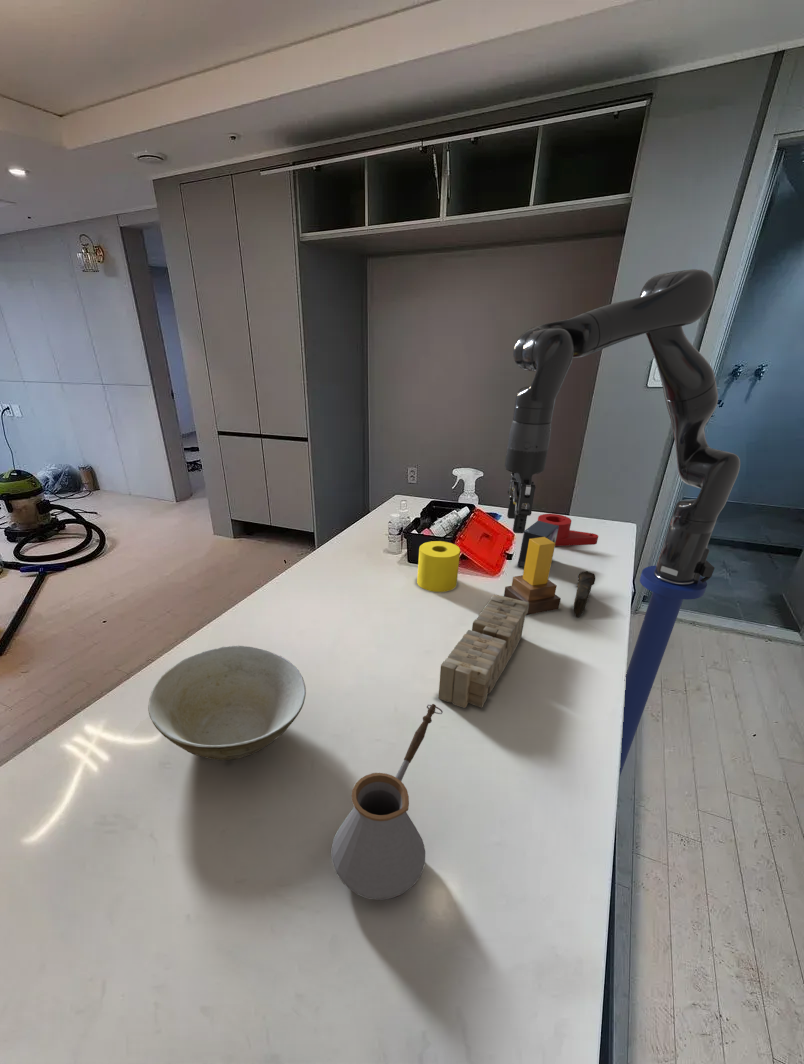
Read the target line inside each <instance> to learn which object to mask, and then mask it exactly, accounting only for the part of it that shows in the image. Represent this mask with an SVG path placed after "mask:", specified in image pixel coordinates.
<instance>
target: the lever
mask: <svg viewBox="0 0 804 1064" xmlns="http://www.w3.org/2000/svg"><path fill="white" fill-rule="evenodd" d="M537 521H542V522H546V523H549V524H554V525H558V526H559V528H558V533H557V538H556V542H555V547H561V546H564V547H565V546H591V545H592V546H593V545H594V546H595V545H597V543H598V540H599V535H598V534H596V533H592V532H586V531H585V532H584V531H578V530H571V526H572V519H571V518H570V517H568V516H566V515H562V514H557V513H543V514H540V515H538V517H537Z"/></svg>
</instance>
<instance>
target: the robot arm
mask: <svg viewBox="0 0 804 1064" xmlns="http://www.w3.org/2000/svg"><path fill="white" fill-rule="evenodd" d="M714 296H715V281H714V278H713V277H712V275H711V274H710V273H709V272H708V271H707V270H703V269H695V268H694V269H693V268H692V269H684V270H677V271H671V272H664V273H660V274H657V275H654V276H652V277H651V278H649V279H648V280H647V281H646V282H645V283H644V285H643V287H642V288H641V291H640V294H639V297H636V298H631V299H626V300H623V301H622V300H621V301H617V302H613V303H610V304H605V305H602V306H599V307H595V308H593V309H591V310H588V311H584V312H582V313H580V314H577V315H575V316H573V317H570V318H567V319H562V320H556V321H552V322H547V323H543V324H540V325H536V326H533V327H530V328H528V329H527V330H526V331H524V332H523V333H521V334H520V336H519V337H518V338H517V340H516V341H515V344H514V345H513V350H512V351H513V352H512V354H513V355H512V357H513V360H514V362H515V364H516V365H517V366H518V367H519V368H520V369H522V370H524V371H527V372H535V374H534V377H533V379H532V382H531V384H530V385H526V386H523V387H521V388H520V389H518V391H517V393H516V396H515V400H514V407H513V408H514V409H513V413H512V420H511V425H510V429H509V433H508V438H507V439H508V440H507V446H506V447H507V448H506V455H505V462H504V469H505V470H506V471H508V472H510V477H509V483H508V484H509V485H508V490H507V495H508V507H507V514H506V515H507V518H508V519H510V520H512V519H513V524H512V525H513V526H512V533H514V534H524V532H525V530H526V524H527V519H528V516H529V517H530V516H531V515H532V512H533V511H532V509H533V504H534V497H535V492H536V487H537V486H536V484H535V482H534V481H532V480H533V475H535V474H536V475H538V474H542V473H543V472H544V471H545V469H546V463H547V457H548V451H549V447H550V441H551V434H552V422H553V417H554V416H553V415H554V410H555V405H556V404H555V403H556V399H557V396H558V394H559V393H560V390H561V388H562V386H563V383H564V381H565V379H566V376H567V374H568V372H569V369H570V367H571V365H572V362H573V359H577V358H582V357H583V358H584V357H586V356H589V355H591V354H594V353H596V352H599V351H602V350H604V349H606V348H609V347H611V346H614V345H617V344H619V343H622V342H625V341H628V340H630V339H632V338H636V337H638V336H641V335H644V334H645V336H646V338H647V341H648V344H649V346H650V349H651V352H652V354H653V357H654V360H655V364H656V367H657V370H658V374H659V377H660V382H661V386H662V391H663V396H664V400H665V404H666V408H667V412H668V415H669V418H670V424H671V428H672V432H673V437H674V443H675V452H676V453H675V454H676V465H677V472H678V476H679V478H680V480H681V481H682V482H683V483H684V484H686V485H688V486H691V487H694V488H697V489H700V491H699V493H698V495H697V497H696V498H686V499H681V500H679V501H677V502H676V504H675V507H674V510H673V513H672V517H671V519H670V522H669V526H668V529H667V531H666V535H665V538H664V541H663V545H662V548H661V551H660V554H659V557H658V561H657V564H656V565H655V566H656V569H655V571H654V576H655V577H656V578H657V579H659V580H661V581H663V582H666V583H669V584H673V585H680V586H687V585H692V584H697V583H698V581H699V578H700V576H701V577H702V578H703V579H701V580H700V581H701V582H705V581H706V582H707V581H708V580H710V578H712V577H713V574H714V571H715V566H714V565H712V564H711V562H709V561H708V560H707V559H708V556H709V553H710V549H709V548H708V545H709V542H710V540H711V536H712V534H713V531H714V529H715V526H716V523H717V519H718V517H719V515H720V513H721V512H722V510H723V509H724V508H725V506H726V504H727V501H728V499H729V497H730V495H731V492H732V489H733V488H734V485H735V483H736V480H737V478H738V476H739V473H740V469H741V459H740V457H739V456H738V455H737V454H735V453H733V452H730V451H726V450H722V449H719V448H714V447H711V446H709V444H708V441H707V439H706V433H705V428H706V426H707V424H708V422H709V421H710V419H711V418H712V416H713V414H714V412H715V410H716V408H717V406H718V402H719V391H718V385H717V380H716V375H715V371H714V369H713V367H712V365H711V364H710V363H709V362H708V360H707V359H706V358H705V356H704V355H703V354H701V352H699V350H697V348H696V347H695V345H693V344H692V343H691V342H690V340H689V339H688V337H687V336H686V334H685V331H684V329H683V327H684V326H688V325H692V324H693V323H695V322H697V321H698V320H700V319H701V318H702V317H703V316H705V314H706V313H707V312H708V310H709V308H710V306H712V302H713V300H714ZM522 506H525V507H524V508H522Z"/></svg>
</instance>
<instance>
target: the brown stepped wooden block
mask: <svg viewBox="0 0 804 1064" xmlns="http://www.w3.org/2000/svg"><path fill="white" fill-rule="evenodd" d="M556 592H557V584H555V583H554V582H553V581H551V580H549V579H548V582H547V583H546V584H540V585H534V586H532V585H531V584H529V583H528V582H527V581H525V580H524V579H523V574H521V575H516V576H512V582H511V585H508V586H505V587H504V592H503V596H504V597H508V598H512V599H516V600H521V601H525V602H529V608H528V613H527V614H526V615H525V616H529V615H536V614H541V613H546V612H552V611H558V610H559V608H560V605H561V600H562V599H561V597H560V596H558V595H557V594H556Z"/></svg>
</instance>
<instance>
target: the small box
mask: <svg viewBox="0 0 804 1064" xmlns="http://www.w3.org/2000/svg"><path fill="white" fill-rule="evenodd" d="M558 528H559V526H558V525H554V524H549V523H546V522H542V521H538V520H536V521H535V522H534V523H533V524H531V525H530V526H528V527H527V528H525V532H524V533H522V538H521V545H520V551H519V556H518V561H517V565H516V567H518V568H522V569H524V567H525V561H526V555H527V550H528V544H529V539H532V538H540V537H546V538H547V539H549V540H551V541H552V542H554V543H555V542H556V538H557V533H558Z"/></svg>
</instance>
